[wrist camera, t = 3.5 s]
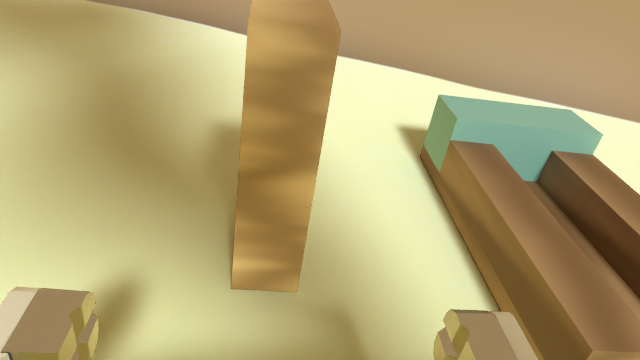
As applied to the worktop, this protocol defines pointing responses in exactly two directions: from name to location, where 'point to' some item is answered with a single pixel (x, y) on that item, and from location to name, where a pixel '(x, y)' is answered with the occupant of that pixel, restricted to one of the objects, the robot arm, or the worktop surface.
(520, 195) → the walnut sill
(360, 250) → the worktop surface
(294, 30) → the oak plank
